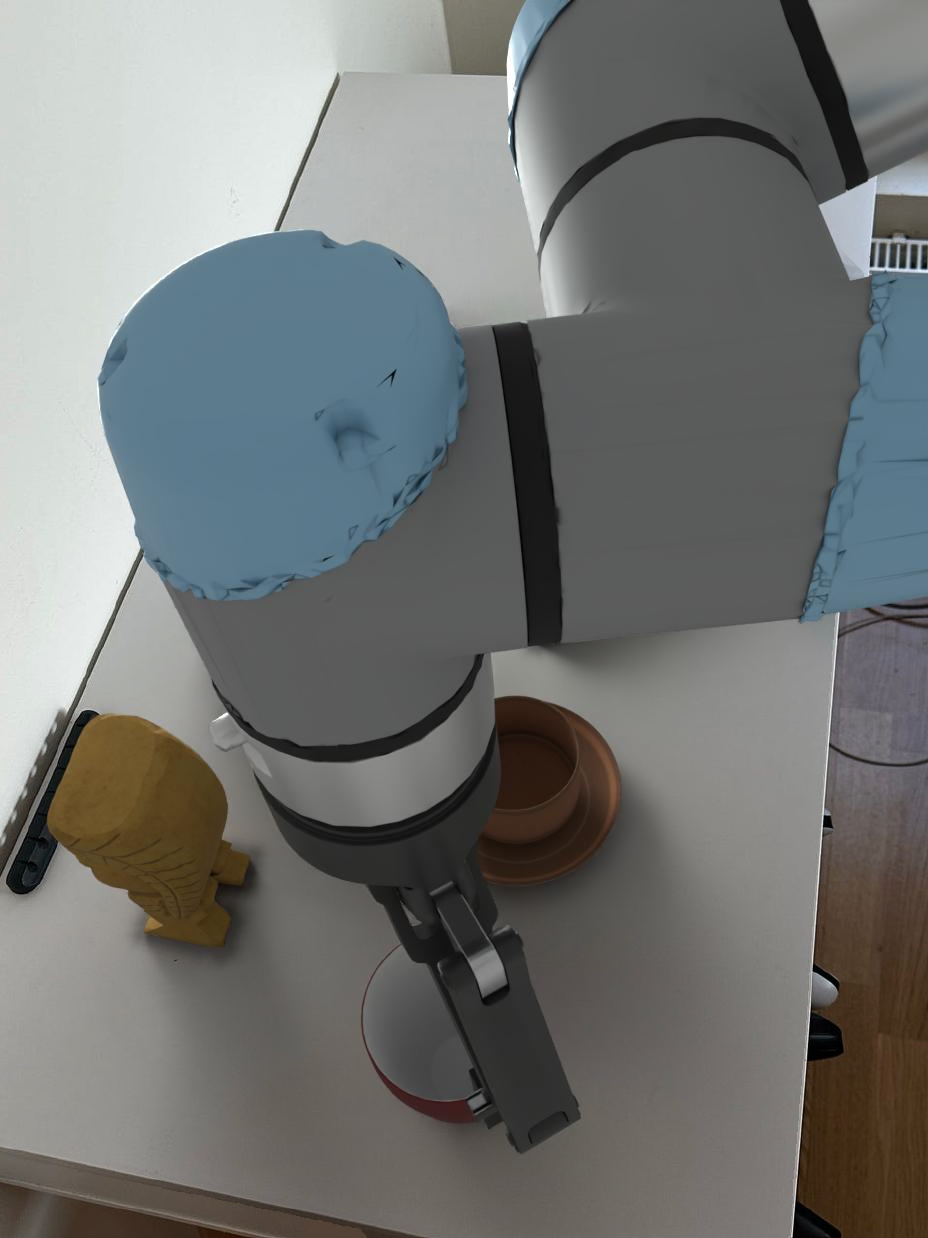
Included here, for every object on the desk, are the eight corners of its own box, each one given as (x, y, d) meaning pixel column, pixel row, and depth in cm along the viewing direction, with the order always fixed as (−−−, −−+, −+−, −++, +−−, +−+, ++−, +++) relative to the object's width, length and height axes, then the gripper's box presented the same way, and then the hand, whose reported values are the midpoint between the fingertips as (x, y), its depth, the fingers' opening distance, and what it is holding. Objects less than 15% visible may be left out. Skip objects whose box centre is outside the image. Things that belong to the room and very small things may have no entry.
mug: (398, 948, 68) (372, 877, 60) (543, 950, 67) (536, 878, 59) (383, 1151, 62) (351, 1102, 54) (542, 1155, 61) (534, 1107, 53)
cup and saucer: (462, 929, 68) (452, 886, 63) (391, 756, 75) (376, 705, 70) (656, 849, 70) (661, 801, 65) (569, 687, 76) (568, 632, 71)
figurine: (172, 834, 73) (89, 707, 61) (276, 850, 72) (212, 723, 60) (133, 946, 69) (35, 834, 57) (242, 965, 68) (166, 854, 56)
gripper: (118, 501, 42) (251, 783, 59) (455, 1184, 29) (500, 1291, 46) (313, 417, 44) (388, 715, 61) (718, 1026, 30) (667, 1187, 48)
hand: (437, 963), depth 54 cm, fingers open, 13 cm apart
